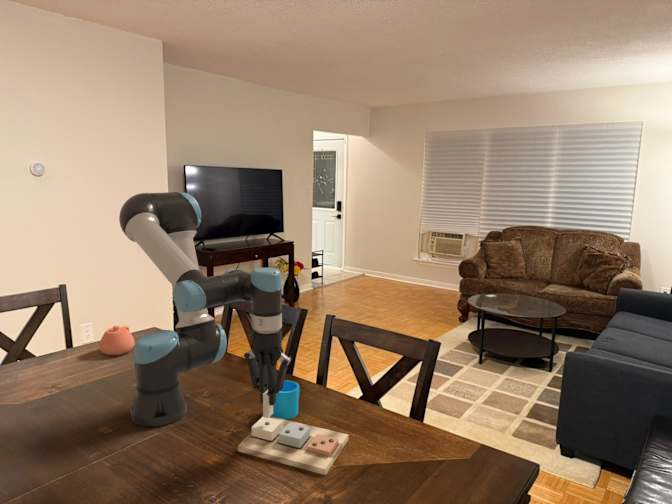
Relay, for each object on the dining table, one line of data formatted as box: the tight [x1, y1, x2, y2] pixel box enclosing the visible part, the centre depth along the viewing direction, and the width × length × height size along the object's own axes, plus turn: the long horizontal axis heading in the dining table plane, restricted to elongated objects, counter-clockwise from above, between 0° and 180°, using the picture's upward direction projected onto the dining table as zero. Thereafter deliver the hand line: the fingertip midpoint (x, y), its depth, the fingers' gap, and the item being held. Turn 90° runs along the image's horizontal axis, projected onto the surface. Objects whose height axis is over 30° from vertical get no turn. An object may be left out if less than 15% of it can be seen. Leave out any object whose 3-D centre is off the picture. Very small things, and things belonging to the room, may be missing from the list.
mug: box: [271, 379, 301, 420], centre depth 140 cm, size 12×8×8 cm
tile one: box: [251, 416, 283, 442], centre depth 124 cm, size 6×6×3 cm
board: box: [237, 415, 350, 476], centre depth 122 cm, size 24×16×2 cm, turn 69°
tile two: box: [278, 422, 310, 449], centre depth 122 cm, size 6×6×3 cm
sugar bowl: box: [98, 325, 136, 356], centre depth 181 cm, size 12×14×10 cm
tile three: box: [307, 434, 338, 457], centre depth 119 cm, size 6×6×3 cm
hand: (268, 415), depth 123 cm, fingers closed
